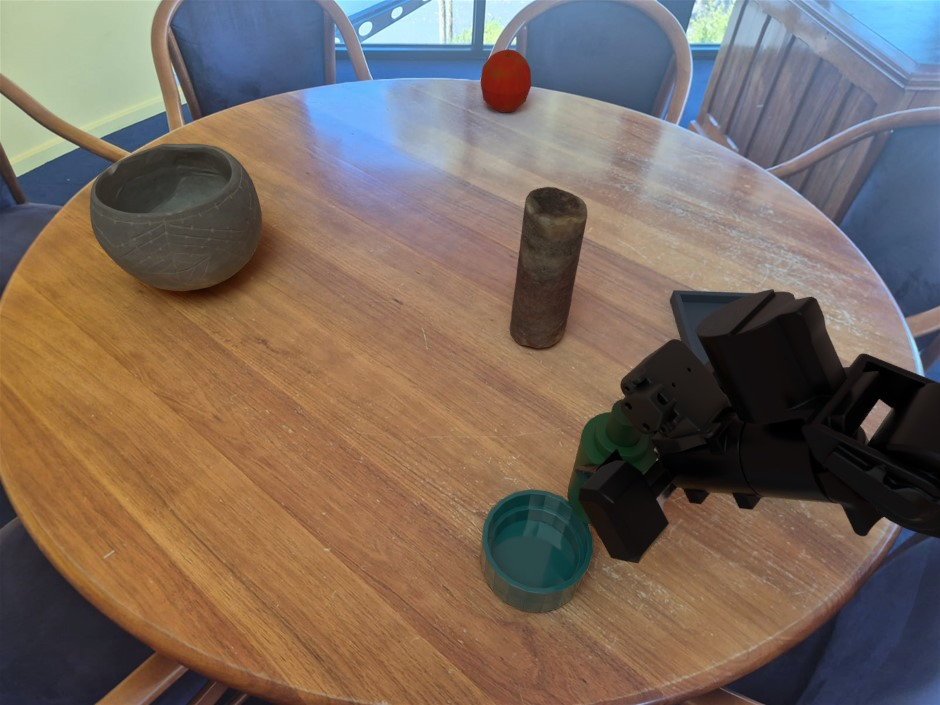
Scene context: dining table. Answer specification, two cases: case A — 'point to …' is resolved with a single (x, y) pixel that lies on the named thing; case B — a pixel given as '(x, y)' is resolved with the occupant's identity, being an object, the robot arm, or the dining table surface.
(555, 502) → the glazed bowl
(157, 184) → the bowl
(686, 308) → the tray
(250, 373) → the dining table surface
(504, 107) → the apple
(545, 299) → the brown textured cylinder
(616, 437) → the bottle
